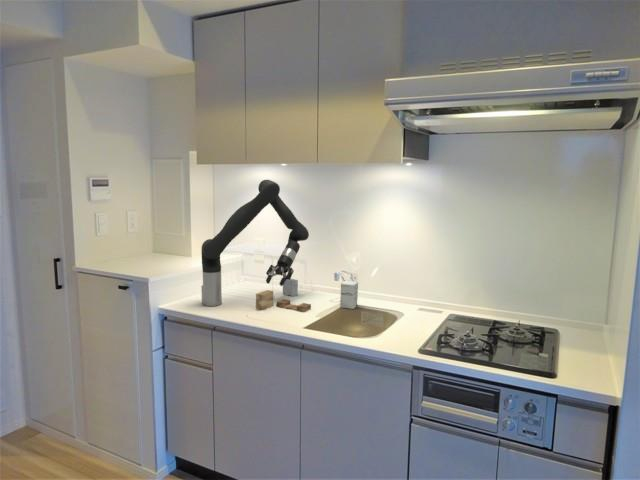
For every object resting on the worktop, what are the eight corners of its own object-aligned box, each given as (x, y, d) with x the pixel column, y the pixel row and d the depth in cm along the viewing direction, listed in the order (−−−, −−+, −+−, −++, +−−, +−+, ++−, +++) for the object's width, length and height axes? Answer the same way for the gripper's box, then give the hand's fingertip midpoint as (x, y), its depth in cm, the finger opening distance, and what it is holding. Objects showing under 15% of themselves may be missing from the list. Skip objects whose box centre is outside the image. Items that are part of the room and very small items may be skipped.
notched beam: (276, 306, 236) (276, 301, 235) (283, 303, 241) (283, 299, 240) (304, 312, 227) (304, 307, 226) (310, 309, 232) (310, 304, 231)
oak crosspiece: (255, 309, 230) (255, 293, 229) (267, 305, 238) (267, 289, 237) (262, 310, 228) (262, 294, 227) (273, 306, 236) (273, 291, 235)
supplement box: (339, 307, 235) (340, 283, 234) (344, 303, 242) (344, 280, 240) (353, 309, 233) (354, 284, 231) (357, 305, 240) (358, 281, 238)
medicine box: (298, 295, 258) (298, 279, 257) (292, 296, 255) (292, 281, 253) (288, 292, 263) (288, 277, 262) (282, 294, 260) (282, 278, 258)
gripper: (273, 252, 247) (259, 277, 239) (295, 255, 240) (282, 281, 232) (279, 261, 252) (266, 285, 244) (300, 264, 245) (288, 289, 237)
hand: (273, 283), depth 238 cm, fingers open, 8 cm apart
